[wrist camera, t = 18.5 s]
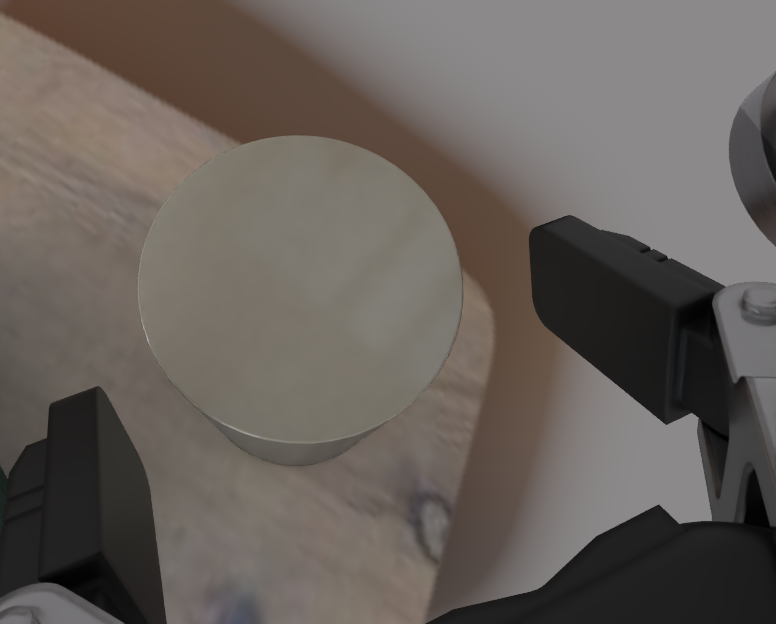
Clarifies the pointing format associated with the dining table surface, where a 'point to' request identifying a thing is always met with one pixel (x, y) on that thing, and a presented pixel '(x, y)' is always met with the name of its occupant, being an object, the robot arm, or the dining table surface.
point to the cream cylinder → (299, 294)
